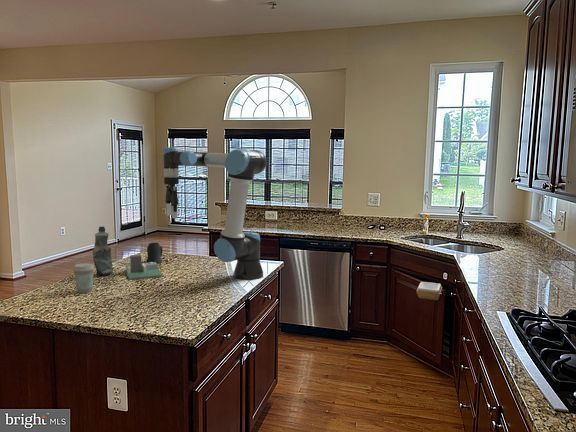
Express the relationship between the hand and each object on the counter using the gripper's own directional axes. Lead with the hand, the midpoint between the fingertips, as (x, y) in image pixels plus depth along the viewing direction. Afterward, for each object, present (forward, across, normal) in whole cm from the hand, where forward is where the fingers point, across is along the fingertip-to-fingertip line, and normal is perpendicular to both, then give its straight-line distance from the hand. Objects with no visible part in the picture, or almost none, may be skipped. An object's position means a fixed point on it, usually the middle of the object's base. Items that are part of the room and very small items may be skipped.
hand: (171, 216), depth 226 cm
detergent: (+29, +1, +34) cm, 45 cm away
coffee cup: (+29, -26, +44) cm, 59 cm away
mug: (+29, +22, +5) cm, 37 cm away
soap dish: (+29, -96, -91) cm, 136 cm away
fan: (+28, +3, +11) cm, 30 cm away
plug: (+28, -1, +19) cm, 33 cm away
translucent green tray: (+29, -4, +16) cm, 33 cm away
